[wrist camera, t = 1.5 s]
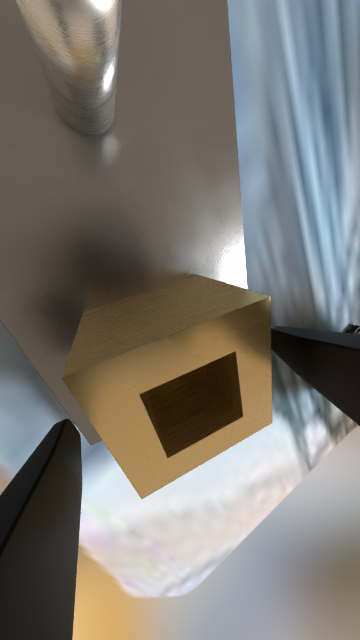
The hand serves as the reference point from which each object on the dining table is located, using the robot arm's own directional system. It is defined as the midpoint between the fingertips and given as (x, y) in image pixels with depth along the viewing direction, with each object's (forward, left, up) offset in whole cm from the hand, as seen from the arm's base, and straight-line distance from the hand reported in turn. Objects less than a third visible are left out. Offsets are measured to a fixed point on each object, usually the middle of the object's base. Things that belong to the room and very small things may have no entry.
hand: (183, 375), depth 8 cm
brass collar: (0, 0, -3) cm, 3 cm away
